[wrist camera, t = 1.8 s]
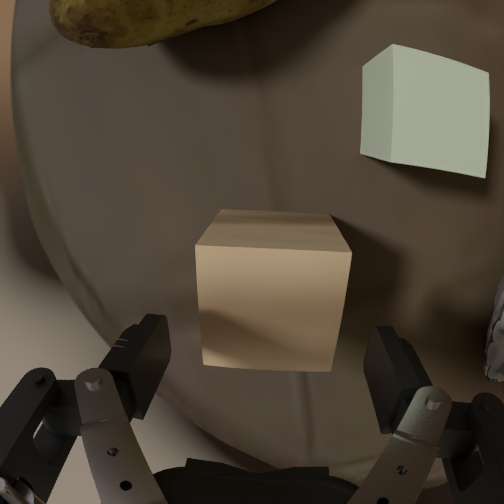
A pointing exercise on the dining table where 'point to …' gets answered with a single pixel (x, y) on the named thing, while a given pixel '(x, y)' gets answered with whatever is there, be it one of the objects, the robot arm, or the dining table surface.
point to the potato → (141, 19)
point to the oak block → (271, 290)
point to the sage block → (425, 111)
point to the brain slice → (496, 340)
